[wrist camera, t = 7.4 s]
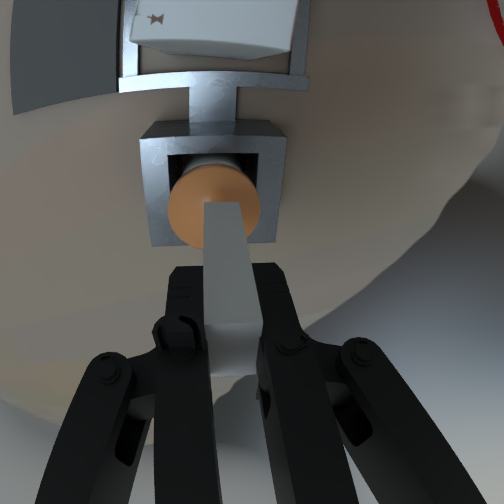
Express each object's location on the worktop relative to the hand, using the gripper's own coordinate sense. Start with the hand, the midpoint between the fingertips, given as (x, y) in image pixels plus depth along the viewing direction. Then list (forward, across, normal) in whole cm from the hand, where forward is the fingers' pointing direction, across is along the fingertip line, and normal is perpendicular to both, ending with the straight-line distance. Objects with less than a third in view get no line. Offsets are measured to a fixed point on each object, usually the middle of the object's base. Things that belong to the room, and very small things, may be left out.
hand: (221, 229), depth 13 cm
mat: (+9, -11, +12) cm, 19 cm away
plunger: (+8, 0, 0) cm, 8 cm away
